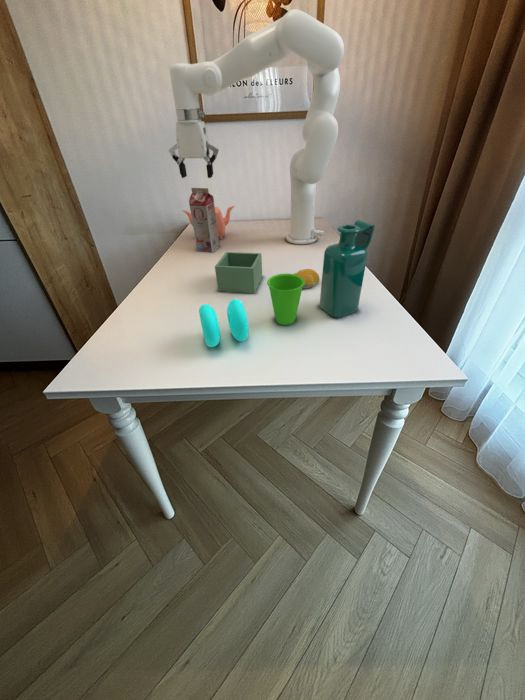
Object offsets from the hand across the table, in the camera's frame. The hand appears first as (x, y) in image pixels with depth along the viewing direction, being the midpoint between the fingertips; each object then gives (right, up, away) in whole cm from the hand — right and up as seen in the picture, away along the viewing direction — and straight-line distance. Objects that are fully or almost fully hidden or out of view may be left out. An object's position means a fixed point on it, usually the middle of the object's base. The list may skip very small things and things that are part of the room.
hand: (197, 177), depth 109 cm
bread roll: (+36, -40, -11) cm, 55 cm away
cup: (+29, -53, -27) cm, 66 cm away
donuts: (+14, -59, -34) cm, 69 cm away
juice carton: (+1, -20, +16) cm, 26 cm away
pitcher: (+44, -49, -24) cm, 71 cm away
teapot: (+1, -11, +27) cm, 29 cm away
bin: (+16, -40, -10) cm, 44 cm away
